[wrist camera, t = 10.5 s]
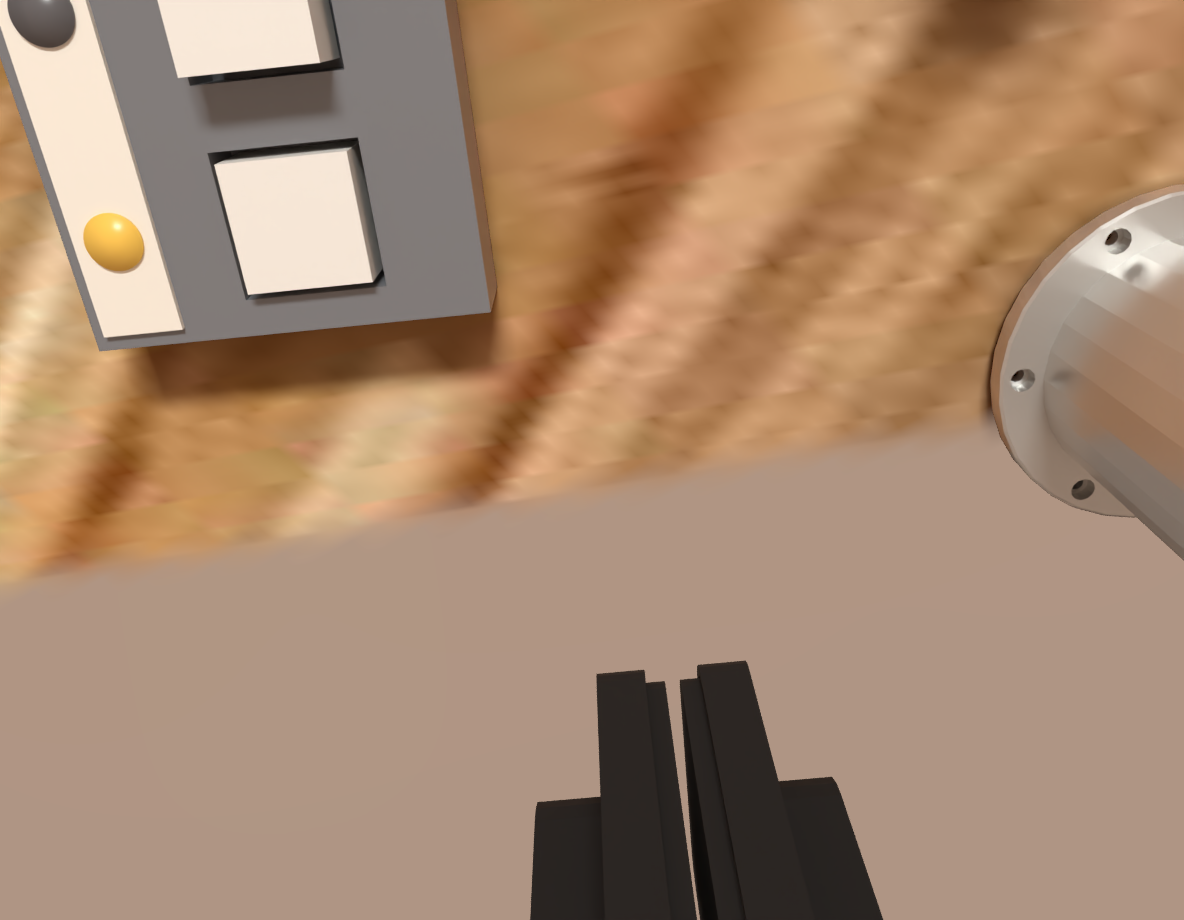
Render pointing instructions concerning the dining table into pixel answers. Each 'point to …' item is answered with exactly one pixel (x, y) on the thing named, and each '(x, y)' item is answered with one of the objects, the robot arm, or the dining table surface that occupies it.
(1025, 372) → the robot arm
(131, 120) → the switch panel
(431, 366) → the dining table surface
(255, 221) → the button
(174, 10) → the middle button
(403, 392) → the dining table surface
